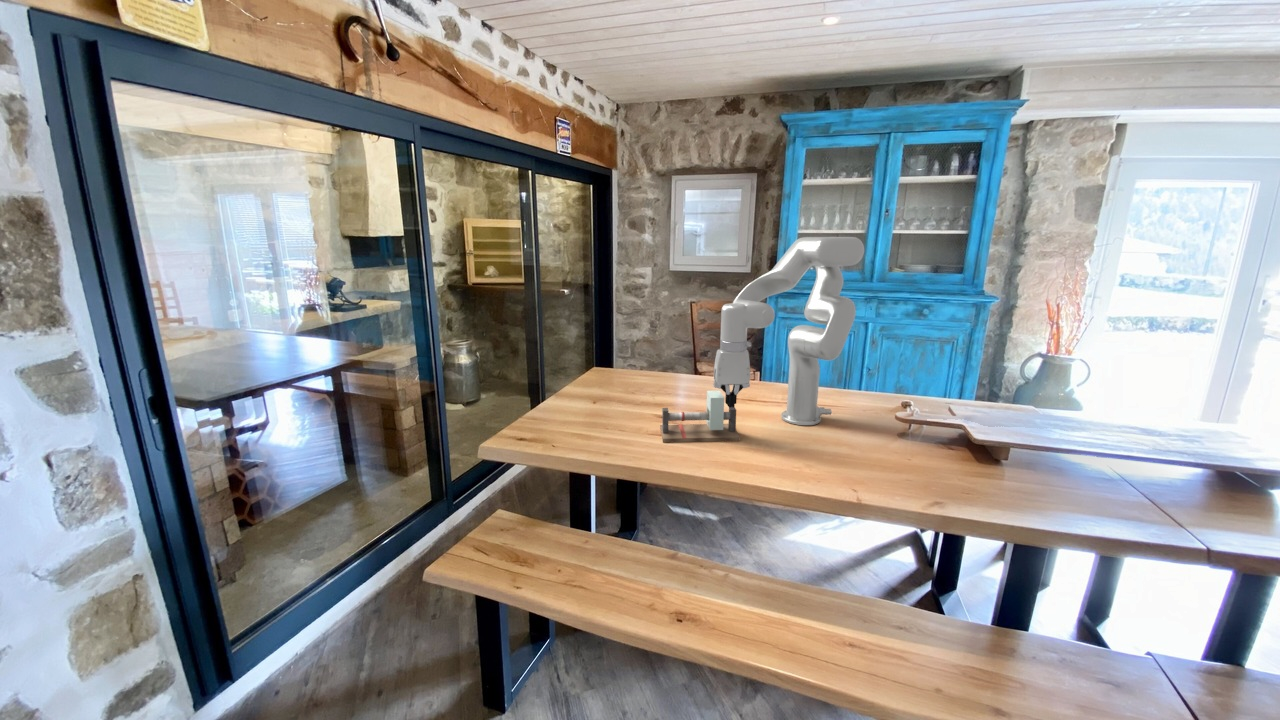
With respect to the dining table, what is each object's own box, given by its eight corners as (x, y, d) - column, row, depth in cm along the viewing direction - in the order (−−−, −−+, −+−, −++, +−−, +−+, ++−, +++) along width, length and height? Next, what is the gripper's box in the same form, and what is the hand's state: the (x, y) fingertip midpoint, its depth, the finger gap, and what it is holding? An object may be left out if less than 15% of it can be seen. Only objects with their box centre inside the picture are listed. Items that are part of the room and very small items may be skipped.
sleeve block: (718, 421, 157) (719, 390, 155) (723, 429, 151) (724, 397, 148) (706, 421, 157) (707, 390, 155) (709, 430, 151) (710, 398, 148)
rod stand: (731, 427, 160) (732, 402, 158) (739, 440, 149) (740, 414, 147) (660, 428, 160) (660, 403, 158) (662, 442, 149) (662, 415, 147)
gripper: (755, 343, 149) (752, 401, 154) (705, 343, 149) (703, 402, 153) (762, 348, 142) (758, 410, 146) (709, 349, 142) (707, 410, 146)
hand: (730, 406), depth 150 cm, fingers closed
